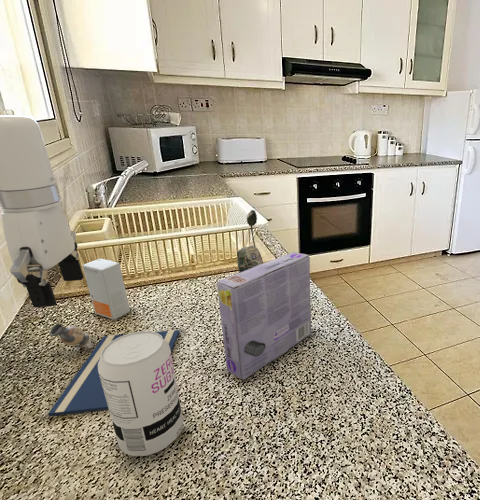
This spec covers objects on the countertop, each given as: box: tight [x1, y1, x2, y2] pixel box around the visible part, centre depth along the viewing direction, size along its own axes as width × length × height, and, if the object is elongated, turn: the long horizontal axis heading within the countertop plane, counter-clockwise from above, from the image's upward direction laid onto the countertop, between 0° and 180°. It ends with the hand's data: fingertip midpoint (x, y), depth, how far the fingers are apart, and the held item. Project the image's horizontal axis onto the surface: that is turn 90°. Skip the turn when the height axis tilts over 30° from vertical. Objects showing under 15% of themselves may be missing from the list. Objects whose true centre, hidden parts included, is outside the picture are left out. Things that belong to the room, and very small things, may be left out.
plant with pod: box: [236, 209, 264, 273], centre depth 91 cm, size 8×11×20 cm
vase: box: [49, 323, 94, 354], centre depth 69 cm, size 5×5×6 cm
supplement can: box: [98, 330, 184, 457], centre depth 50 cm, size 8×8×15 cm
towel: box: [47, 329, 180, 417], centre depth 66 cm, size 14×20×1 cm
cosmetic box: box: [82, 258, 131, 321], centre depth 80 cm, size 6×4×12 cm
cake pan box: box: [216, 251, 312, 382], centre depth 68 cm, size 19×5×18 cm, turn 145°
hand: (60, 292), depth 66 cm, fingers open, 9 cm apart
